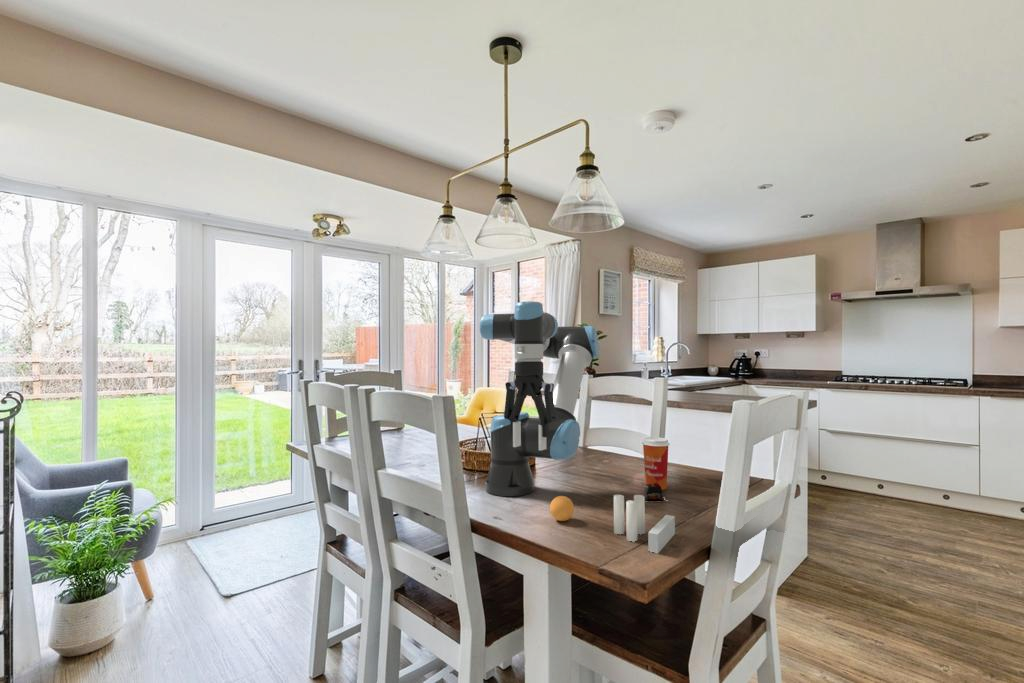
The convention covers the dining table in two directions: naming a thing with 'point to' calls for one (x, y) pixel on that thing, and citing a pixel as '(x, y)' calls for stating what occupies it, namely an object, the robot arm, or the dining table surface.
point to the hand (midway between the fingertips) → (529, 447)
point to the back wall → (661, 533)
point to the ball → (562, 508)
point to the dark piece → (653, 489)
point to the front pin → (619, 514)
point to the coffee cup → (656, 460)
